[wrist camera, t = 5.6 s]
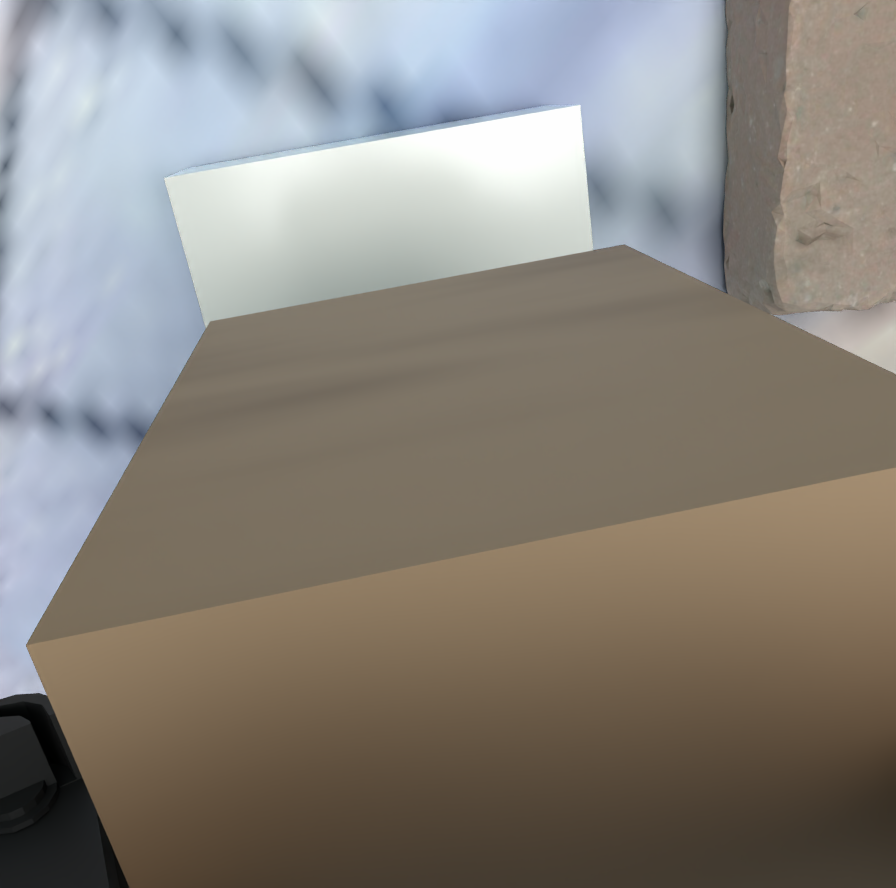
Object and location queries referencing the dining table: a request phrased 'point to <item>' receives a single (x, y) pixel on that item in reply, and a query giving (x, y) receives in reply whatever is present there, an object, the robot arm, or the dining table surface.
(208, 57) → the dining table surface
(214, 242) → the stone plinth
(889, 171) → the brick
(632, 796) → the walnut block
